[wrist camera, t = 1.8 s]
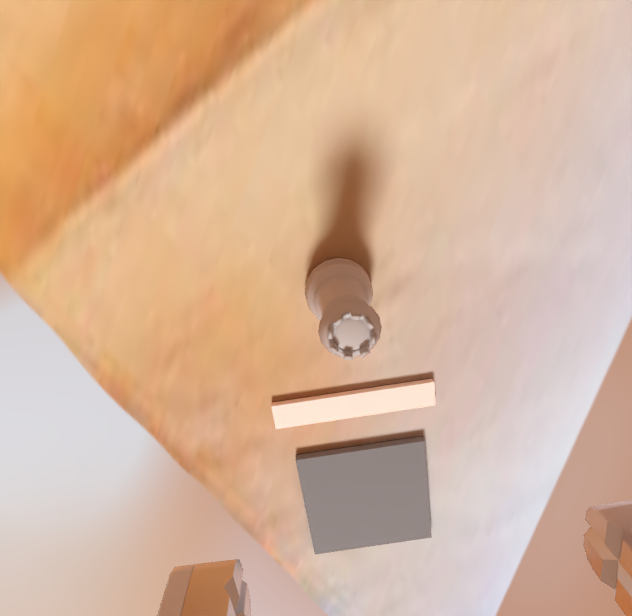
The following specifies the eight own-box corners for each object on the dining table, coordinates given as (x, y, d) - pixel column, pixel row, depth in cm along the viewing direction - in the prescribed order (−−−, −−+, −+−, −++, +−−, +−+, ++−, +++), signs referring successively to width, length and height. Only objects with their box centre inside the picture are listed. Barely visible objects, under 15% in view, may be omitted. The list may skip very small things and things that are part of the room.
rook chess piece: (354, 244, 27) (376, 279, 20) (380, 302, 29) (409, 355, 21) (293, 274, 28) (291, 318, 20) (321, 329, 29) (330, 390, 22)
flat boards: (271, 402, 31) (271, 407, 31) (432, 378, 31) (434, 382, 31) (303, 549, 36) (303, 555, 36) (441, 529, 36) (443, 535, 36)
